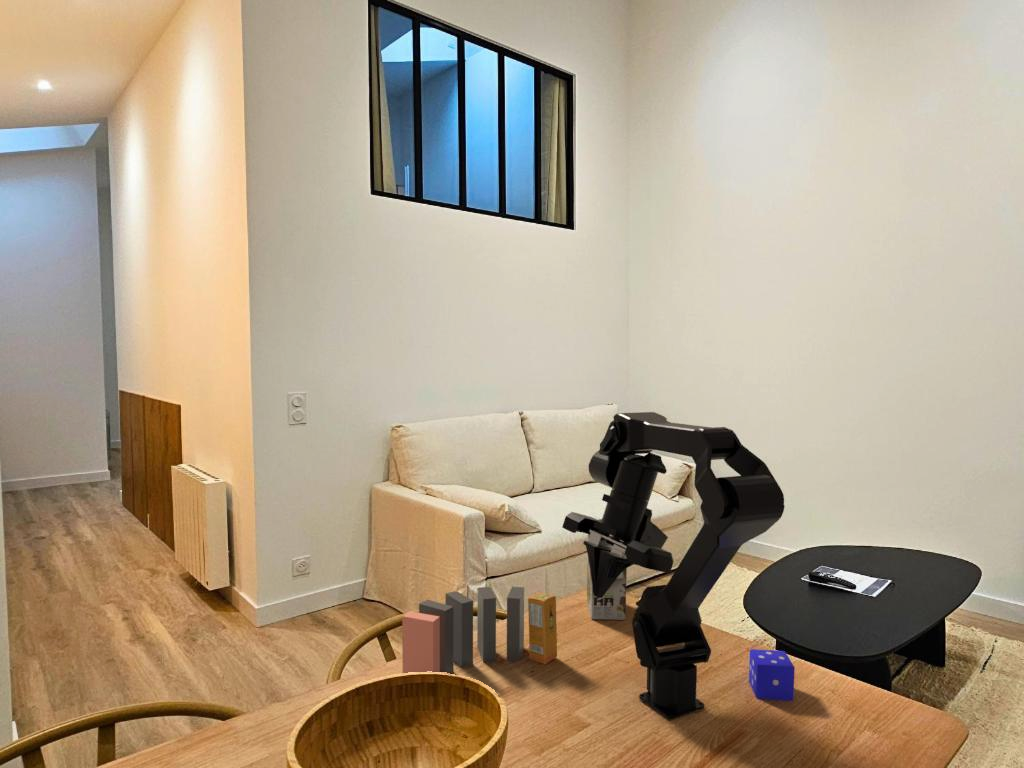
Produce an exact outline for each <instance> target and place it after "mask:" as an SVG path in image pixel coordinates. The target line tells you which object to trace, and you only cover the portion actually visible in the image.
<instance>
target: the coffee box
mask: <svg viewBox="0 0 1024 768" xmlns="http://www.w3.org/2000/svg"><path fill="white" fill-rule="evenodd" d="M598 520H599V521H602V518H601V519H600V518H599V519H598ZM589 536H590V535H589V534H587V540H588V539H589ZM611 536H613V535H611ZM586 555H587V558H586V559H587V561H586V563H587V564H586V565H587V566H586V567H587V569H586V570H587V573H586V575H587V576H586V577H587V579H586V580H587V581H586V582H587V583H586V586H587V587H586V589H587V590H586V591H587V592H586V603H587V605H588V611H589V613H590V614H589V615H590V617H591V620H612V621H613V620H614V621H615V620H616V621H624V620H625V621H626V616H627V615H626V614H627V613H626V611H627V609H626V607H627V574H628V573H627V571H628V568H626V569H625V570H624V571H623V572H622V573H621V574H620V575H619V576H618V577H617V579H616V580H615V581H614V583H613V584H612V585H611V586H610V588H609V589H608V590H607V592H606V593H605V594H604V596H603V597H602V598H598V597H596V596H594V594H593V587H592V578H591V570H590V564H589V559H588V554H587V553H586Z"/></svg>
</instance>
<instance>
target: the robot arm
mask: <svg viewBox="0 0 1024 768" xmlns="http://www.w3.org/2000/svg"><path fill="white" fill-rule="evenodd" d="M653 451H660V452H665V453H670V454H675V455H681V456H686V457H690V458H692V460H693V462H694V464H695V469H694V470H695V471H694V472H695V473H694V483H693V485H694V487H695V490H696V492H697V493H698V496H699V497H700V499H701V504H700V508H699V509H700V511H701V515H702V520H703V524H702V526H701V528H700V530H699V532H698V533H697V535H696V536H695V538H694V540H692V541H693V542H692V543H691V545H690V547H689V548H688V549H687V551H686V553H685V554H684V556H683V558H682V559H681V561H680V562H679V564H678V566H677V567H676V569H675V571H674V572H673V574H672V576H671V577H670V579H669V580H668V583H667V584H661V585H660V584H659V585H652V586H647V587H645V588H644V590H643V591H642V594H641V597H640V599H639V600H638V601H635V605H636V606H637V607H636V609H635V611H634V614H633V617H632V622H631V625H632V633H633V638H634V639H633V640H634V646H635V652H636V657H637V658H638V659H639V660H640V661H639V664H640V665H641V667H643V668H646V692H642V693H640V694H639V695H638V699H639V700H640V701H641V702H643V703H644V704H646V705H647V706H648V707H650V708H651V709H652V710H655V712H657V713H658V714H659V715H661V716H663V717H664V718H666V719H668V720H674V719H677V718H680V717H683V716H685V715H688V714H691V713H695V712H698V711H701V710H703V709H704V708H705V703H704V702H703V701H701V700H699V699H697V680H698V679H697V676H698V675H697V674H698V666H697V664H701V663H704V664H705V663H708V662H709V660H710V657H711V653H712V651H711V648H710V645H709V643H708V640H707V638H706V635H705V634H704V631H703V628H702V626H701V624H702V617H701V613H700V610H699V608H700V606H701V605H702V603H703V602H704V600H705V599H706V598H707V596H708V595H709V593H710V592H711V591H712V589H713V587H714V586H715V585H716V583H717V582H718V580H719V579H720V578H721V576H722V575H723V573H724V571H725V570H726V569H727V567H728V565H729V564H730V563H731V561H732V560H733V558H734V557H735V556H736V554H737V553H738V551H739V549H740V548H741V547H742V545H744V544H745V543H747V542H749V541H752V540H753V539H755V538H757V537H759V536H761V535H763V534H764V533H766V532H767V531H769V529H770V528H771V527H773V526H774V525H775V524H776V523H777V522H778V521H780V520H781V518H782V516H783V514H784V511H785V507H786V506H785V498H784V497H785V496H784V493H783V490H782V489H781V486H780V485H779V484H778V482H777V480H776V479H775V477H774V475H773V473H772V472H771V470H770V469H769V467H768V466H767V463H765V462H764V461H763V460H762V459H761V458H760V457H758V456H757V455H756V454H754V453H753V452H752V451H750V450H749V449H748V448H747V447H746V446H744V445H743V444H742V443H741V441H740V439H739V438H738V435H737V434H736V433H735V431H734V430H732V428H731V429H730V428H727V427H725V426H721V427H720V426H718V427H710V426H703V425H702V426H701V425H695V424H694V425H693V424H686V423H679V422H677V423H676V422H670V421H669V420H668V418H667V417H666V416H664V415H662V414H660V413H658V412H654V411H649V412H648V411H647V412H643V411H642V412H618V413H616V414H614V416H613V420H612V421H610V423H609V425H608V427H607V430H606V432H605V435H604V437H603V439H602V441H601V442H600V443H599V450H597V451H596V452H595V453H594V454H593V455H592V457H591V459H590V461H589V463H588V473H589V475H590V477H591V479H592V480H594V481H595V482H597V483H599V484H601V485H604V486H606V487H609V488H611V490H610V493H609V494H606V493H603V495H602V498H601V501H603V502H606V505H605V508H604V512H603V515H602V518H601V519H602V521H599V519H597V518H594V517H592V516H590V515H586V514H581V513H577V512H573V511H571V512H569V513H568V514H566V515H565V517H564V521H563V523H562V528H563V529H565V530H567V531H568V532H571V533H574V534H575V533H577V532H578V533H583V534H587V535H588V534H589V535H590V536H589V539H588V538H587V540H583V541H582V542H583V546H585V549H586V552H587V553H586V555H587V554H588V559H589V564H590V570H591V578H592V587H593V594H594V596H596V597H598V598H602V597H603V596H604V594H605V593H606V592H607V590H608V589H609V588H610V586H611V585H612V584H613V583H614V581H615V580H616V579H617V577H618V576H619V575H620V574H621V573H622V572H623V571H624V570H625V569H626V568H627V569H628V568H630V567H632V566H633V565H636V566H639V567H642V568H645V569H648V570H653V571H656V572H657V571H658V572H661V573H666V574H671V572H672V568H673V565H674V557H673V554H672V552H670V551H668V550H666V549H664V548H663V547H664V546H665V543H666V542H667V541H668V539H669V537H668V535H667V534H666V533H665V532H663V530H662V529H660V527H659V526H657V525H656V524H655V523H653V522H652V517H653V510H652V509H649V508H648V505H649V502H650V499H651V496H652V492H653V489H654V486H655V484H656V480H657V477H658V474H663V475H665V474H667V472H668V471H667V468H666V465H665V464H664V463H663V459H662V456H661V455H658V454H655V453H652V452H653ZM642 454H643V455H642ZM715 460H716V461H717V460H723V461H724V463H725V464H726V465H727V466H728V467H730V468H731V469H732V470H733V471H734V472H736V473H737V474H738V475H736V476H734V475H733V476H721V477H716V474H715V472H714V470H713V469H712V461H715ZM611 535H613V536H611ZM678 644H679V645H678ZM680 644H683V645H680ZM673 645H676V646H673ZM666 646H670V647H666ZM661 647H665V648H661ZM658 648H659V649H658Z"/></svg>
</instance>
